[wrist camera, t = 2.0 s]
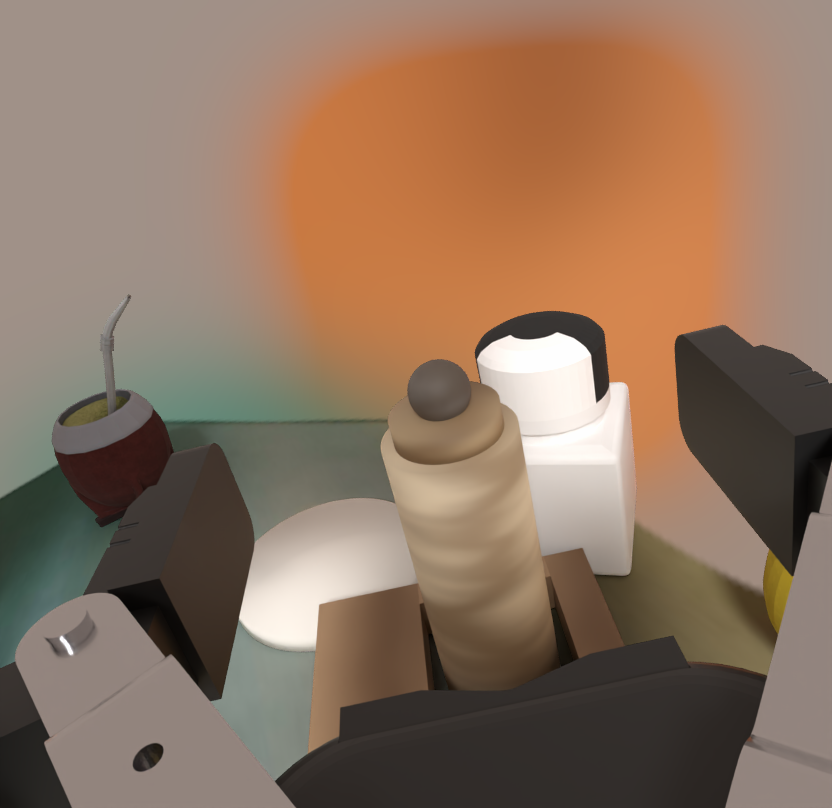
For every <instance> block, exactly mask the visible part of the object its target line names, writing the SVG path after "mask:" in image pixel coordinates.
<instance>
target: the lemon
mask: <svg viewBox="0 0 832 808" xmlns="http://www.w3.org/2000/svg"><path fill="white" fill-rule="evenodd" d="M792 580H793V576H791V575H790V574H789V573H788V571H787V570H786V569H785V568H784V566H783V565H782V564H781V563H780V561H779V560H778V559H777V558H776V557H775V555H774V554H773V553H772V552H771V550H770V549H769V552H768V556H767V560H766V566H765V571H764V579H763V590H764V597H765V602H766V607H767V612H768V616H769V618H770V621H771V623H772V625H773V627H774V629H775V630H776V632H777V634H779V630H780V626H781V622H782V618H783V615H784V611H785V607H786V603H787V599H788V595H789V592H790V588H791V584H792Z"/></svg>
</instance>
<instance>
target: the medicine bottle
mask: <svg viewBox="0 0 832 808" xmlns="http://www.w3.org/2000/svg"><path fill="white" fill-rule="evenodd" d="M604 335H605V334H604V331H603V330H602V328H601V327H600V326H599V325H598V324H597V323H595V322H594V321H593V320H592V319H590V318H588V317H586V316H583V315H579V314H574V313H568V312H560V311H544V312H536V313H530V314H526V315H522V316H518V317H515V318H513V319H510V320H508V321H506V322H504V323H502V324H500V325H498V326H496V327H494V328H493V329H491V330H490V331H488V332H487V333H486V334H485V335H484V336H483V337H482V338H481V340H480V342H479V343H478V345H477V347H476V349H475V358H476V363H477V368H478V373H479V378H480V383H482V384H485V385H488V386H490V387H491V388H493V389H494V390H495V391H496V392H497V393H498V395H499V398H500V403H502V404H504V405H506V406H508V407H509V408H510V409H512V410H513V411H514V413H515V414H516V416H517V418H518V422H519V427H520V433H521V439H522V445H523V451H524V456H525V462H526V468H527V474H528V480H529V485H530V491H531V497H532V503H533V509H534V515H535V520H536V526H537V532H538V538H539V544H540V550H541V555H542V556H547V555H551V554H556V553H561V552H565V551H570V550H575V549H579V548H583V550H584V553H585V555H586V557H587V560H588V562H589V564H590V567H591V569H592V571H593V573H594V574H597V575H618V576H626V575H628V574H629V573H630V571H631V565H632V550H633V536H634V522H635V506H636V493H637V486H636V474H635V463H634V450H633V439H632V427H631V416H630V404H629V392H628V387H627V385H626V384H624V383H623V382H614V383H609V374H608V365H607V354H606V344H605V336H604Z"/></svg>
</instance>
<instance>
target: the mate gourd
mask: <svg viewBox="0 0 832 808" xmlns="http://www.w3.org/2000/svg"><path fill="white" fill-rule="evenodd" d="M130 299H131V295H127V296H126V297H125V299H124V300H123V301H122V302H121V303H120V305H119V306H118V307H117V308H116V309H115V311H114V312H113V313H112V314H111V316H110V317H109V319H108V321H107V323H106V325H105V327H104V330H103V334H102V335H101V340H100V341H101V342H100V343H101V351H103V358H104V368H105V379H106V390H107V391H106V392H102V393H99V394H95V395H93V396H90V397H88V398H85V399H83V400H81V401H79V402H77V403H75V404H74V405H72V406H70V407H69V408H67V409H66V410H65V411H64V412H63V413H61V414H60V415H59V417H58V419H57V420H56V422H55V425H54V429H53V433H52V444H53V446H54V450H55V456H56V458H57V461H58V463H59V465H60V467H61V469H62V472H63V473H64V475H65V476H66V478H67V479H68V481H69V483H70V485H71V487H72V488H73V490H74V491H75V493H76V494H77V496H78V497H79V498H80V499H81V500H82V501H83V502H84V503H85V504H86V505H87V506H88V507H89V508H90V509H91V510H93V511H94V512H95V513H96V514H97V515H98V517H97V518H96V519H95V520H96V522H97V523H98V524H99V526H100V527H103V526H105V525H107V524H109V523H111V522H113V521H115V520H117V519H119V518H121V517H123V516H124V514H125V512H126V510H127V508H128V507H129V506H130V505H131V504H132V503H133V502H134V501H135V500H136V499H137V498H138V497H139V496H140V495H141V494H142V493H143V492H144V491H145V490H146V489H147V488H148V487H150V486H154V485H157V483H158V481H159V479H160V477H161V475H162V473H163V470H164V468H165V466H166V464H167V462H168V460H169V458H170V456H171V454H172V453H174V451H173V448H172V445H171V442H170V438H169V435H168V432H167V429H166V426H165V424H164V423H163V421H162V419H161V417H160V416H159V415H158V414H157V412H156V411H155V410H154V409H153V406H152V405H151V404H150V403H149V402H148V401H147V400H146V399H145V398H143V397H142V396H140V395H139V394H137V393H135V392H133V391H131V390H124V389H117V390H115V381H114V369H113V359H112V351H114V336H112V334H113V330H114V328H115V326H116V323H117V321H118V319H119V318H120V316H121V314H122V313H123V311H124V309H125V307H126V306H127V304H128V302H129V301H130Z"/></svg>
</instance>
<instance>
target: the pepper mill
mask: <svg viewBox="0 0 832 808" xmlns="http://www.w3.org/2000/svg"><path fill="white" fill-rule="evenodd" d="M388 425H389V429H388V430H387V431H386V433H385V434H384V436H383V438H382V441H381V453H382V457H383V460H384V464H385V467H386V471H387V474H388V478H389V481H390V485H391V488H392V492H393V495H394V499H395V503H396V506H397V510H398V513H399V517H400V520H401V524H402V527H403V531H404V534H405V538H406V541H407V545H408V548H409V552H410V555H411V559H412V562H413V566H414V569H415V573H416V577H417V580H418V584H419V587H420V591H421V594H422V598H423V601H424V605H425V608H426V612H427V615H428V619H429V622H430V626H431V629H432V633H433V636H434V640H435V643H436V647H437V651H438V654H439V658H440V661H441V665H442V668H443V672H444V675H445V679H446V682H447V686H448V689H449V690H472V691H502V690H509V689H513V688H516V687H518V686H521V685H523V684H525V683H527V682H529V681H532V680H534V679H536V678H538V677H540V676H542V675H545V674H547V673H549V672H551V671H553V670H555V669H558V668H560V667H561V666H560V660H559V654H558V649H557V643H556V637H555V631H554V625H553V619H552V614H551V608H550V602H549V596H548V590H547V585H546V579H545V573H544V567H543V561H542V555H541V550H540V544H539V538H538V532H537V526H536V520H535V515H534V509H533V503H532V497H531V491H530V485H529V480H528V474H527V468H526V462H525V456H524V451H523V445H522V439H521V433H520V427H519V422H518V418H517V416H516V414H515V413H514V411H513V410H512V409H510V408H509V407H508V406H506V405H504V404H502V403H500V398H499V395H498V393H497V392H496V391H495V390H494V389H493V388H491V387H490V386H488V385H485V384H482V383H478V382H472V381H469V379H468V377H467V375H466V373H465V372H464V371H463V370H462V368H461V367H459V366H458V365H457V364H455V363H453V362H451V361H448V360H442V359H441V360H439V359H437V360H431V361H428V362H426V363H424V364H422V365H421V366H419V367H418V368H417V369H416V370H415V371H414V373H413V374H412V376H411V378H410V380H409V384H408V396H406V397H405V398H403V399H401V400H400V401H399V402H398V403H397V404H396V405H395V406H394V407H393V408H392V409H391V411H390V413H389V415H388Z"/></svg>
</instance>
